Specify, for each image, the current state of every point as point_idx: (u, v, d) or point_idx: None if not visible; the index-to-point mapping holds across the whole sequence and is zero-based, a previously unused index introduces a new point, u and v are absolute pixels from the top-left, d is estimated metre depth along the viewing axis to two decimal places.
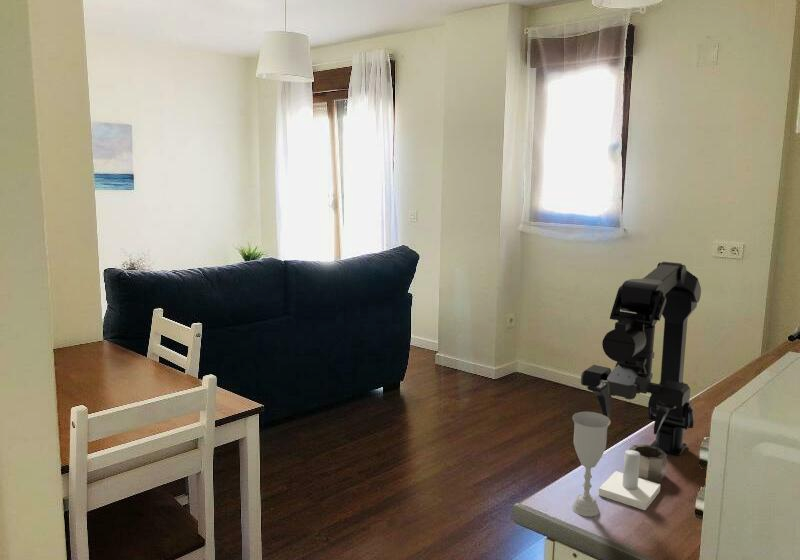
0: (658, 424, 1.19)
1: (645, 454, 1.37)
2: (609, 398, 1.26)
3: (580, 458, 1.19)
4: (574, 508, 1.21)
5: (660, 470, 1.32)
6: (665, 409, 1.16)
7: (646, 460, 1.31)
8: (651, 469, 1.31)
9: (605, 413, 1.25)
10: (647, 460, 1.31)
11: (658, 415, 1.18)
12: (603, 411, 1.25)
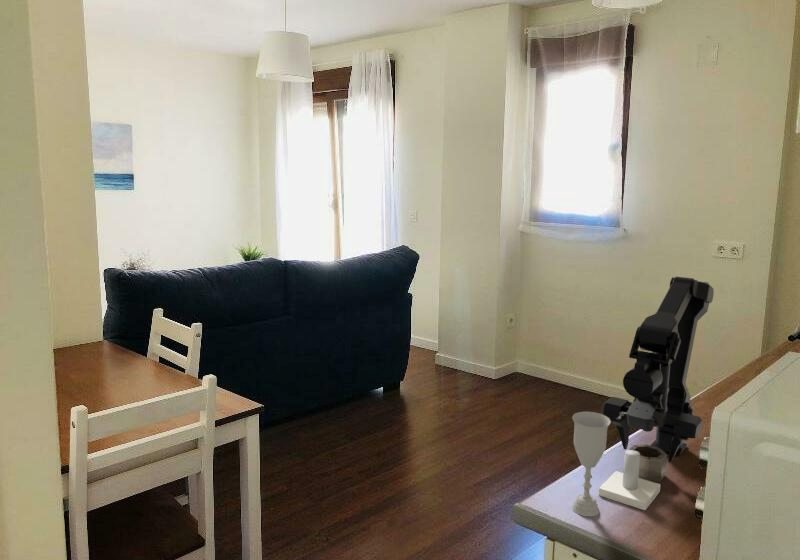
0: (673, 453, 1.30)
1: (645, 454, 1.37)
2: (627, 428, 1.37)
3: (580, 458, 1.19)
4: (574, 508, 1.21)
5: (660, 470, 1.32)
6: (679, 439, 1.28)
7: (646, 460, 1.31)
8: (651, 469, 1.31)
9: (624, 442, 1.36)
10: (647, 460, 1.31)
11: (673, 445, 1.30)
12: (622, 440, 1.37)
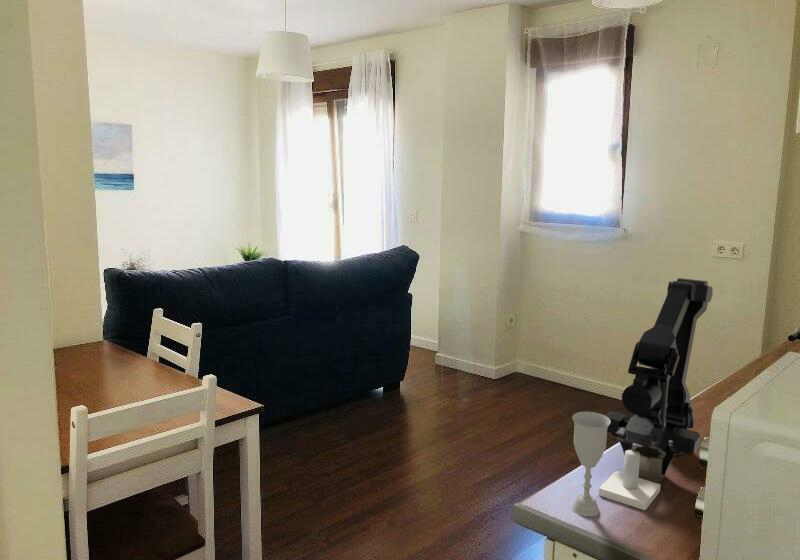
0: (666, 466, 1.31)
1: (645, 454, 1.37)
2: (631, 443, 1.37)
3: (580, 458, 1.19)
4: (574, 508, 1.21)
5: (660, 470, 1.32)
6: (672, 453, 1.29)
7: (646, 460, 1.31)
8: (651, 469, 1.31)
9: None
10: (647, 460, 1.31)
11: (666, 459, 1.31)
12: None
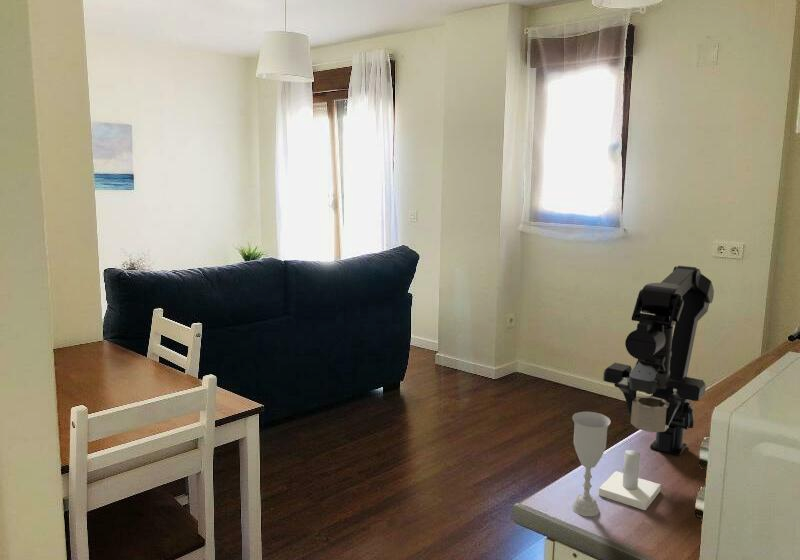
0: (670, 416, 1.29)
1: (649, 405, 1.35)
2: (634, 395, 1.35)
3: (580, 458, 1.19)
4: (574, 508, 1.21)
5: (664, 420, 1.29)
6: (677, 402, 1.27)
7: (650, 409, 1.29)
8: (655, 419, 1.29)
9: (631, 408, 1.34)
10: (651, 409, 1.29)
11: (670, 408, 1.29)
12: (629, 407, 1.34)
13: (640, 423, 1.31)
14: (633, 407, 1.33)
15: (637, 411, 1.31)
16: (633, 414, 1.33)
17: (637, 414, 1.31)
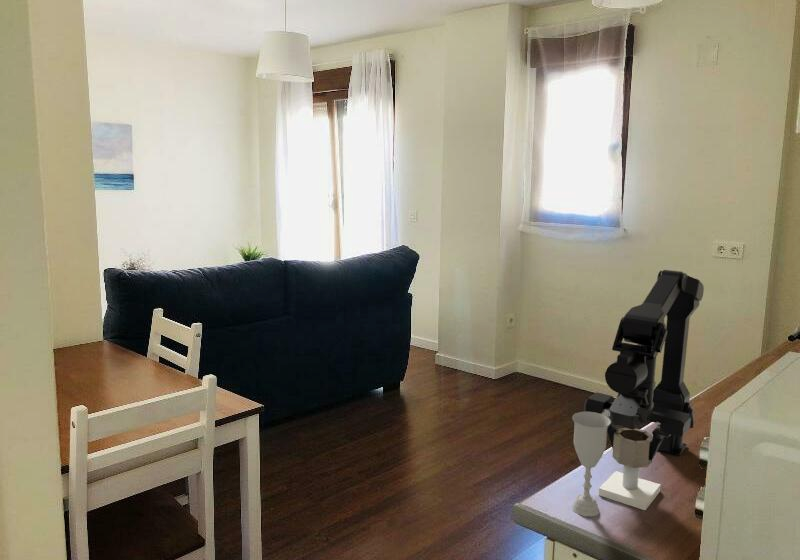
0: (654, 451, 1.22)
1: (632, 438, 1.28)
2: (616, 426, 1.28)
3: (580, 458, 1.19)
4: (574, 508, 1.21)
5: (647, 454, 1.23)
6: (660, 436, 1.20)
7: (632, 444, 1.22)
8: (638, 453, 1.22)
9: (613, 441, 1.27)
10: (633, 444, 1.22)
11: (654, 442, 1.22)
12: (611, 439, 1.27)
13: (621, 458, 1.24)
14: (615, 440, 1.26)
15: (619, 445, 1.24)
16: (615, 448, 1.26)
17: (619, 448, 1.24)
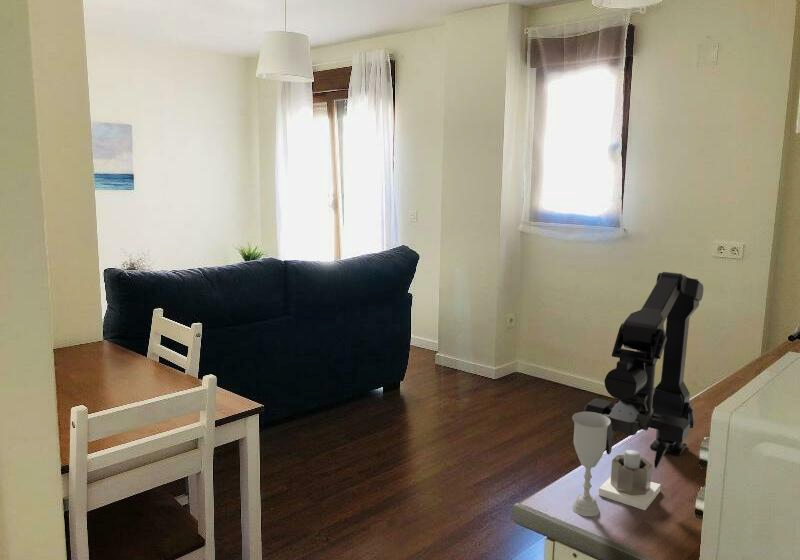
0: (659, 458, 1.22)
1: None
2: (611, 431, 1.29)
3: (580, 458, 1.19)
4: (574, 508, 1.21)
5: (645, 482, 1.24)
6: (665, 444, 1.19)
7: (630, 472, 1.23)
8: (635, 481, 1.23)
9: (607, 446, 1.28)
10: (631, 472, 1.23)
11: (659, 450, 1.21)
12: None
13: (619, 486, 1.25)
14: (613, 467, 1.27)
15: (617, 472, 1.25)
16: (613, 475, 1.27)
17: (617, 476, 1.25)
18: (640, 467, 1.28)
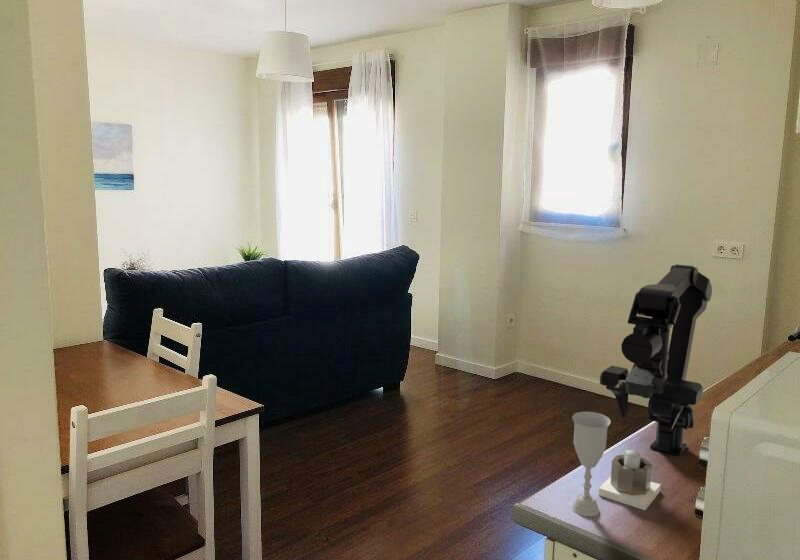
0: (673, 421, 1.27)
1: None
2: (626, 397, 1.34)
3: (580, 458, 1.19)
4: (574, 508, 1.21)
5: (645, 482, 1.24)
6: (679, 407, 1.25)
7: (630, 472, 1.23)
8: (635, 481, 1.23)
9: (623, 411, 1.33)
10: (631, 472, 1.23)
11: (673, 413, 1.26)
12: (621, 409, 1.33)
13: (619, 486, 1.25)
14: (613, 467, 1.27)
15: (617, 472, 1.25)
16: (613, 475, 1.27)
17: (617, 476, 1.25)
18: (640, 467, 1.28)
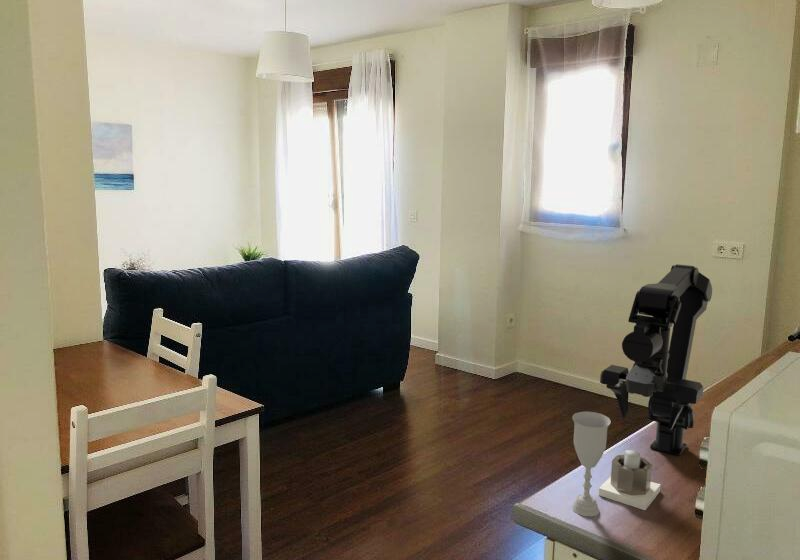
0: (673, 420, 1.27)
1: None
2: (626, 396, 1.34)
3: (580, 458, 1.19)
4: (574, 508, 1.21)
5: (645, 482, 1.24)
6: (680, 406, 1.25)
7: (630, 472, 1.23)
8: (635, 481, 1.23)
9: (623, 410, 1.33)
10: (631, 472, 1.23)
11: (673, 412, 1.27)
12: (621, 408, 1.33)
13: (619, 486, 1.25)
14: (613, 467, 1.27)
15: (617, 472, 1.25)
16: (613, 475, 1.27)
17: (617, 476, 1.25)
18: (640, 467, 1.28)
